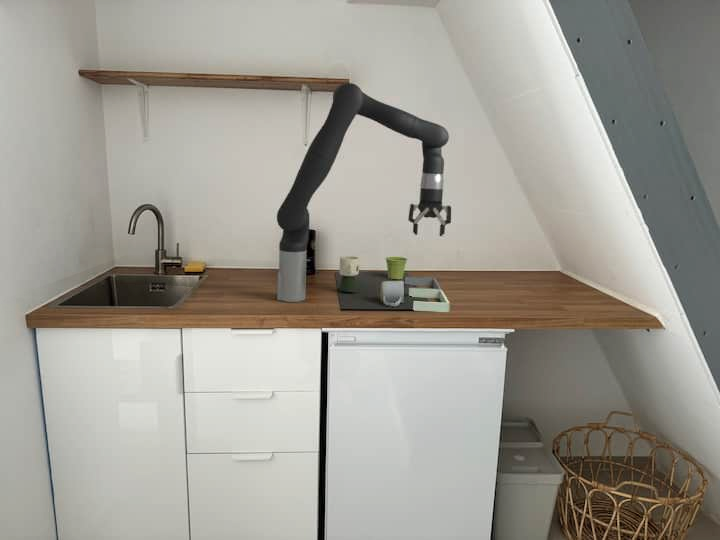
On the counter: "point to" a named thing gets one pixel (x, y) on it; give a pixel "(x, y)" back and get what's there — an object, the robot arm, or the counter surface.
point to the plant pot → (395, 267)
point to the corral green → (429, 305)
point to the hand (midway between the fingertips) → (428, 235)
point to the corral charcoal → (422, 282)
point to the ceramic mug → (392, 292)
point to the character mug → (349, 273)
